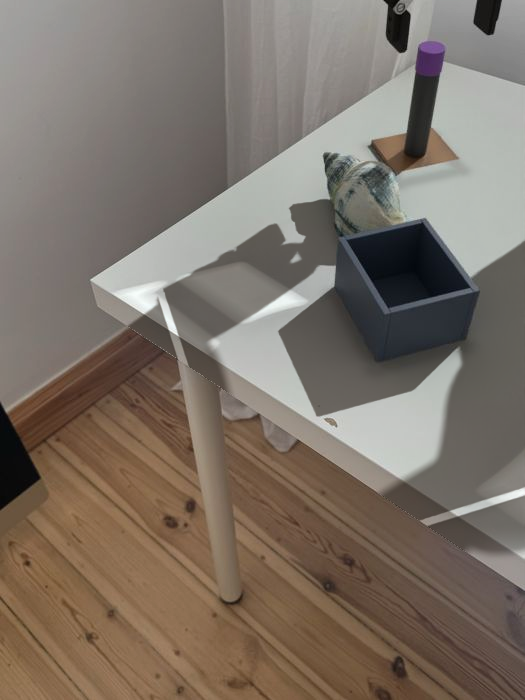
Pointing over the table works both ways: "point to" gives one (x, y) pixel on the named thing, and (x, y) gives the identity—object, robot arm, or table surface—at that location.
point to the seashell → (362, 194)
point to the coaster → (399, 161)
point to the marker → (423, 97)
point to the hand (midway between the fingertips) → (440, 38)
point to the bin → (404, 289)
